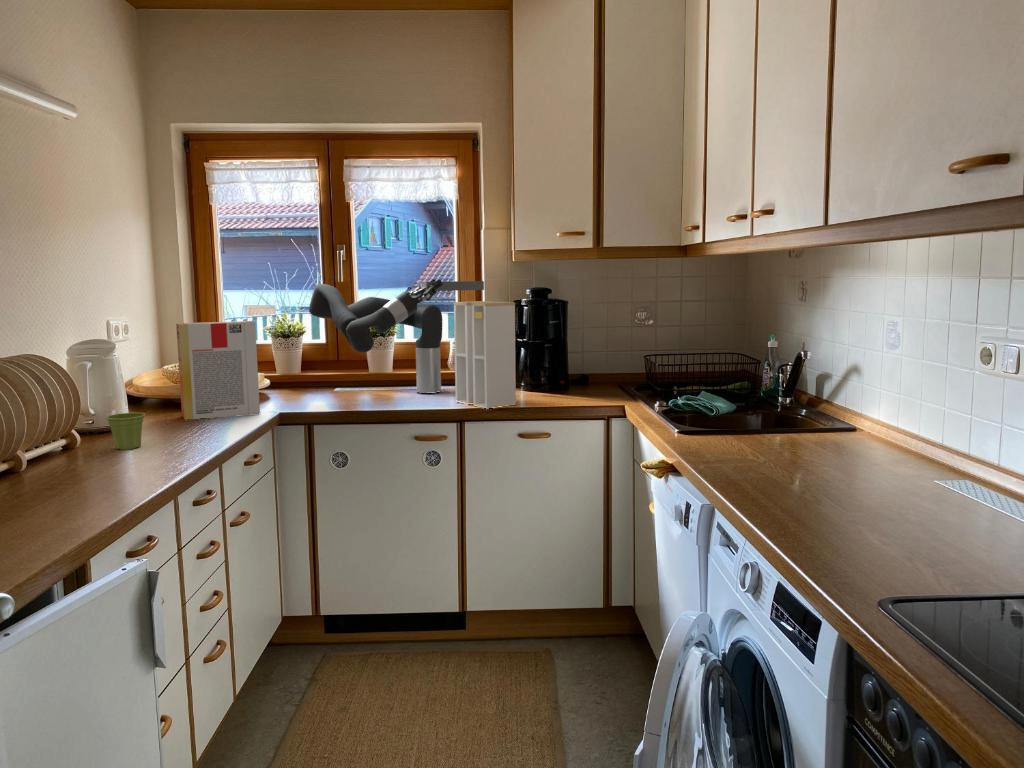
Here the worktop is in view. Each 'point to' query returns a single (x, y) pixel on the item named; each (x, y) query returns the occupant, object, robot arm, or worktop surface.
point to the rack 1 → (463, 351)
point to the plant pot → (126, 429)
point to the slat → (458, 285)
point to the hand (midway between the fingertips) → (438, 281)
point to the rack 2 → (493, 354)
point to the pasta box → (218, 369)
